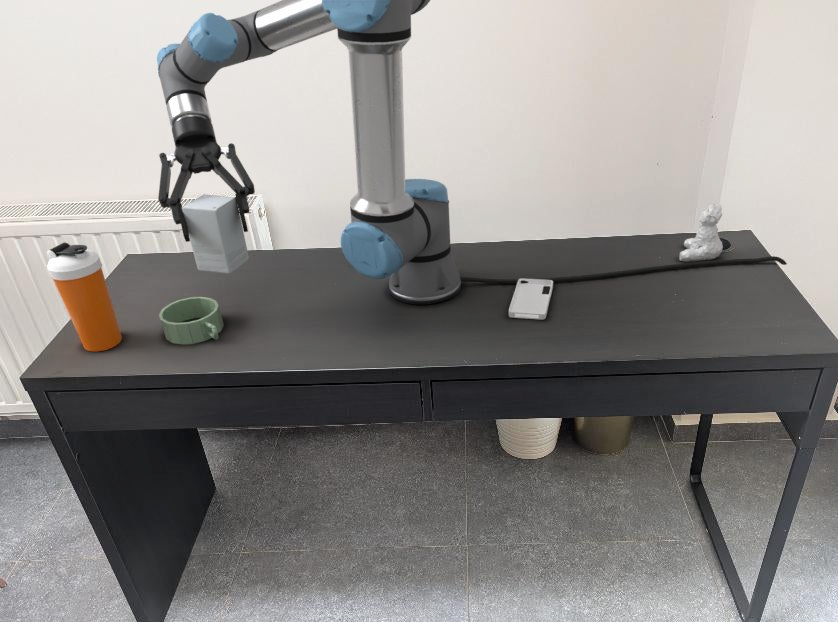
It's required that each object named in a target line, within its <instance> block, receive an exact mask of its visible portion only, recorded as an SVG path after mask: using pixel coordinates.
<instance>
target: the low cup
mask: <svg viewBox="0 0 838 622" xmlns="http://www.w3.org/2000/svg"><path fill="white" fill-rule="evenodd" d="M158 317H159V320H160V324H161V327H162V330H163V333H164V336H165V337H164V338H165V339H166V340H167V341H168V342H169V343H172V344H175V345H194V344H199V343H202V342H206V341H209V340H210V339H213V340H219V339H220V335H219V334H220V333H221V332H222V330H223V328H224V326H225V324H224V321H223V317H222V313H221V309H220V305H219V303H218V301H217V300H215V299H213V298H212V297H206V296H192V297H187V298H182V299H181V298H180V299H178V300H176V301H173V302H171V303H169V304H167V305H166V306H164V307H163V308H162V309H161V311H159V314H158ZM193 319H194V320H193ZM191 320H192V321H191Z"/></svg>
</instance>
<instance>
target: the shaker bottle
mask: <svg viewBox="0 0 838 622" xmlns="http://www.w3.org/2000/svg"><path fill="white" fill-rule="evenodd" d="M46 255H47V259H48V262H47V265H46V269H47V271H48V274H49V276H50V278H51V279H52V280H53V282H54V285H55V287H56V289H57V291H58V293H59V296H60V298H61V300H62V302H63V305H64V307H65V309H66V311H67V313H68V315H69V317H70V320H71V322H72V324H73V327H74V328H75V331H76V333H77V336H78V337H79V340H80V342H81V344H82V347H83V348H84V350H86V351H87V352H92V353H93V352H95V353H97V352H103V351H107V350H109V349H112V348H115V347H116V346H117V345H119V344H120V343H121V341H122V339H123V337H122V332H121V330H120V326H119V323H118V319H117V316H116V312H115V310H114V306H113V302H112V299H111V295H110V292H109V288H108V285H107V282H106V278H105V275H104V271H103V268H102V267H103V263H102V261H101V257H100V255H99V254H98V253H97V252H95V251H93V250H92V249H89V248H88V246H87V245H86V244H70V243H69V242H67V241H63V242H62V243H60V244H58V245H56V246H54V247H52V248H50V249H48V250H47V251H46Z"/></svg>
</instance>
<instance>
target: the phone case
mask: <svg viewBox="0 0 838 622" xmlns="http://www.w3.org/2000/svg"><path fill="white" fill-rule="evenodd" d="M518 279H519V280H518V282H517V284H516V285H515V289H514V291H513V295H512V298H511V301H510V304H509V308H508V317H509V318H514V319H526V320H528V319H529V320H540V321H542V320H546V318H547V315H548V310H549V306H550V302H551V297H552V294H553V290H554V282H553V281H552V280H540V279H541V278H518ZM522 280H524V281H528V283H521V281H522ZM544 287H545V288H546V287H547V288H548V287H549V292H548V294H547V293H543V292H544Z"/></svg>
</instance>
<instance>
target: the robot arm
mask: <svg viewBox="0 0 838 622" xmlns="http://www.w3.org/2000/svg"><path fill="white" fill-rule="evenodd" d="M430 1H431V0H280V1H277V2H275V3H271V4H270V5H268V6H266V7H262V8H260V9H258V10H255V11H252V12H250V13H248V14H245V15H243V16H239V17H235V18H231V19H226V18H225V17H224V16H222V15H220V14H218V15H217V14H215V13H213V12H206V13H204V14H202V15H201V16H200V17H199V18H198V19H197V20H196V21H195V22H193V24H192V25H191V26H190V28H189V30H188V32H187V33H186V35H185V36H184V37H183V40H182V41H181V42H180V43H170V44H167V46H166V47H162V48H161V49H160V50H158V53H157V55H156V63H157V71H158V72H157V73H158V77H159V80H160V84H161V89H162V93H163V97H164V102H165V105H166V111H167V116H168V119H169V120H168V121H169V124H170V128H171V133H172V137H173V142H174V147H175V149H174V152H173V153H169V154H166V153H165V152H160V153H159V154H158V156H159V160H160V164H161V169H160V179H159V188H158V197H157V199H158V202H159V205H160V207H161V208H163V209H166V208H169V209H170V210H171V216H172V220H173V222H174V223H175V225H180V226H181V230H182V235H183V238H184V241H185V242H186V243H188V242H191V241H190V237H189V233H188V229H187V226H186V222H185V218H184V214H183V211H182V207H183V205H182V199H183V197H184V194H185V191H186V189H187V186H188V184H189V181H190V180H191V178H192V175H193V174H195V175H197V174H200V173H202V172H203V173H211V172H212V171H213V172H214V173H215V174H216V175H217V176H218V177H219V178H220V179H221V180H222V181H223V182H224V183H225V184H226V185H227V186H228V187H229V188H230V189H231V190H232V191H233V192H234V193H235V194H234V195H235V197H236V200H237V205H238V209H239V214H240V219H241V223H242V228H243V233H247V232H249V230H248V229H249V228H248V224H247V219H246V215H245V214H249V213H250V205H249V201H248V196H250V195H254V194H256V193H255V192H256V190H255V184H254V182H253V181H252V179H251V177H250V175H249V174H248V172H247V170H246V169H245V167H244V166H243V164H242V161H241V160H240V159H239V157H238V155H237V151H236V145H235V144H234V143H233V142H232V143H229V144H228V145H227V146H220V145H219V144H218V141H217V137H216V134H215V129H214V125H213V123H212V117H211V112H210V108H209V103H208V100H207V99H208V98H207V95H206V91H205V89H206V86H207V84H208V83H210V82H211V80H212V79H213V78H214V77H215V76H216V74H217V73H218V72H219V71H220V70H221V69H224V68H228V67H232V66H234V65H237V64H242V63H245V62H247V61H251V60H255V59H259V58H263V57H268V56H270V55H273V54H275V53H277V51H280V50H283V49H286V48H288V47H291V46H294V45H296V44H300V43H302V42H306V41H307V40H310V39H313V38H315V37H318V36H321V35H324V34H326V33H329V32H332V31H334V30H336V31H337V39H338V40H339V41H340V42H341V43H342V45H344V46H345V47H346V49H347V52H348V65H349V66H348V67H349V80H350V95H351V96H350V98H351V110H352V127H353V139H354V154H355V156H354V157H355V170H356V172H355V173H356V184H357V185H356V186H357V192H356V194H354V196H352V198H351V199H350V201H349V209H350V222H349V223H348V224H347V225H346V226H345V227H344V228H343V231H342V232H341V235H340V248H341V251H342V254H343V256H344V257H345V259H346V261H347V262H348V263H349V265H351V266H352V267H353V268H354V270H355V271H357V273H360V275H363V276H365V277H367V278H371V279H374V280H375V279H376V280H379V279H386V278H388V277H389V281H388V287H389V294H390V295H391V296H392V297H393V298H394V299H395V300H397V301H398V302H400V303H404V304H409V305H423V306H425V305H433V304H438V303H443V302H445V301H448V300H450V299H452V298H454V297H455V296H457V295H458V294H459V293H460V292H461V289H462V282H463V283H465V282H466V283H484V284H485V283H486V284H503V285H504V284H509V285H511V284H512V285H515V284H516V285H517V282H518V280H519V279H520V278H513V279H512V278H485V277H470V276H469V277H468V276H466V277H465V276H461V275H460V273H459V270H458V268H457V265H456V262H455V260H454V257H453V254H452V250H451V227H450V226H451V225H450V200H449V194H448V188H447V186H446V185H445V184H444V183H443V182H440V181H438V180H435V179H434V180H433V179H427V178H406V156H405V122H404V121H405V117H404V116H405V115H404V112H405V111H404V86H403V85H404V77H403V76H404V74H403V73H404V72H403V71H404V70H403V49H404V47H405V46H406V45H407V44H408V42H410V40H411V39H412V16H413V15H415V14H417V13H419V12H420V11H422V10H423V9H424V8H426V6H427V5H429V3H430ZM222 155H224V156H225V159H228V160H230V162H231V165H232V167H233V168H234V170H235V173H236V174H237V175H238V177H239V179H240V181H241V182H242V184H243V185H244V186H243V185H242V184H241V183H240V182H239V181H238V180H237V179H236V178H235V177H234V176H233V175H232V174H231V173H230V172H229V170H227V169H226V167H225V166H223V164H222V163H221V161H220V158H221V156H222ZM175 162H177V163H179V164H180V165H181V166H180V172H179V173H178V176H177V179H176V182H175V184H174V187H173V189H172V192H171V194H170V186H171V176H172V170H171V169H172V168H173V167H174V166H175V165H174V163H175ZM771 261H773V262H777V263H779V264H780V265H782V266H786V265H788V263H787V261H785V259H783V258H782V257H779V256H775V255H772V256H764V257H757V258H756V257H755V258H734V259H717V260H716V259H715V260H704V261H691V262H683V263H676V264H674V263H673V264H665V265H657V266H649V267H642V268H634V269H633V268H632V269H626V270H625V269H624V270H617V271H609V272H601V273H593V274H581V275H572V276H560V277H559V276H558V277H545V278H539V279H540V280H552V281H553V283H560V282H561V283H562V282H572V281H573V282H574V281H582V280H594V279H603V278H610V277H618V276H626V275H634V274H642V273H650V272H655V271H656V272H657V271H665V270H666V271H667V270H674V269H675V270H676V269H682V268H683V269H685V268H693V267H704V266H717V265H718V266H719V265H733V264H757V263H764V262H771ZM521 283H528V281H524V280H522V281H521Z"/></svg>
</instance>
